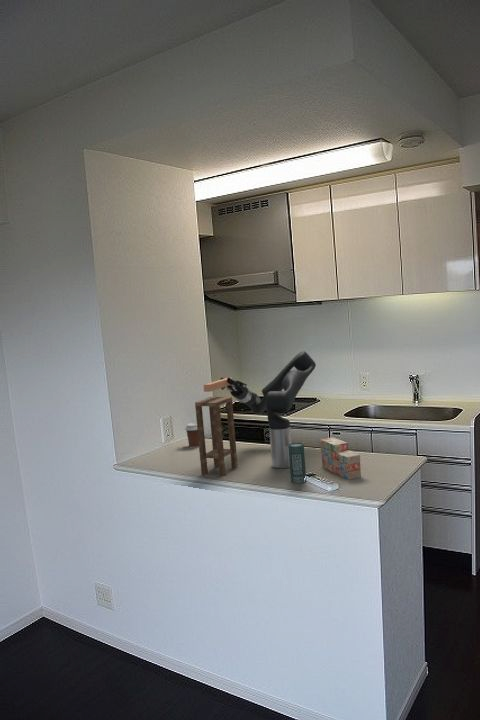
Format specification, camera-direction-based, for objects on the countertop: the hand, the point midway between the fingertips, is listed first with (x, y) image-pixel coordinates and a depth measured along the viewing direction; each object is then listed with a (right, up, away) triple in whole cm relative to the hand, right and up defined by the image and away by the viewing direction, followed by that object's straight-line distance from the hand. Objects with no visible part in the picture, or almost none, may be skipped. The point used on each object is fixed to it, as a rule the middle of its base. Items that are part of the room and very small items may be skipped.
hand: (224, 379), depth 258 cm
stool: (-2, -40, -8) cm, 41 cm away
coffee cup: (-16, -37, +39) cm, 56 cm away
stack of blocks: (+49, -38, -22) cm, 66 cm away
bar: (-2, -4, -4) cm, 6 cm away
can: (+31, -40, -30) cm, 59 cm away
